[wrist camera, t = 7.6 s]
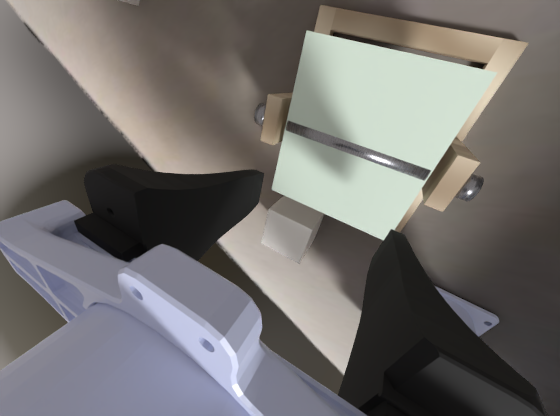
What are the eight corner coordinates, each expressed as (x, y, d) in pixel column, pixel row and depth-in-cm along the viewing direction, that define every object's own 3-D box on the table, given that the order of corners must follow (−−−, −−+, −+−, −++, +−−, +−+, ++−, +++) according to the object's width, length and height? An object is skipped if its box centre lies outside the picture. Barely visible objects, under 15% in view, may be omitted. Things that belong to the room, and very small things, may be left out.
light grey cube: (314, 239, 26) (299, 263, 22) (280, 222, 27) (261, 243, 24) (326, 208, 23) (312, 230, 20) (288, 191, 25) (268, 208, 21)
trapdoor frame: (406, 231, 21) (405, 280, 15) (277, 175, 24) (242, 200, 19) (535, 47, 13) (621, 21, 8) (316, 6, 16) (273, -30, 11)
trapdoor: (388, 224, 17) (386, 242, 15) (284, 179, 19) (270, 190, 18) (482, 74, 11) (498, 72, 10) (320, 37, 14) (305, 30, 12)
